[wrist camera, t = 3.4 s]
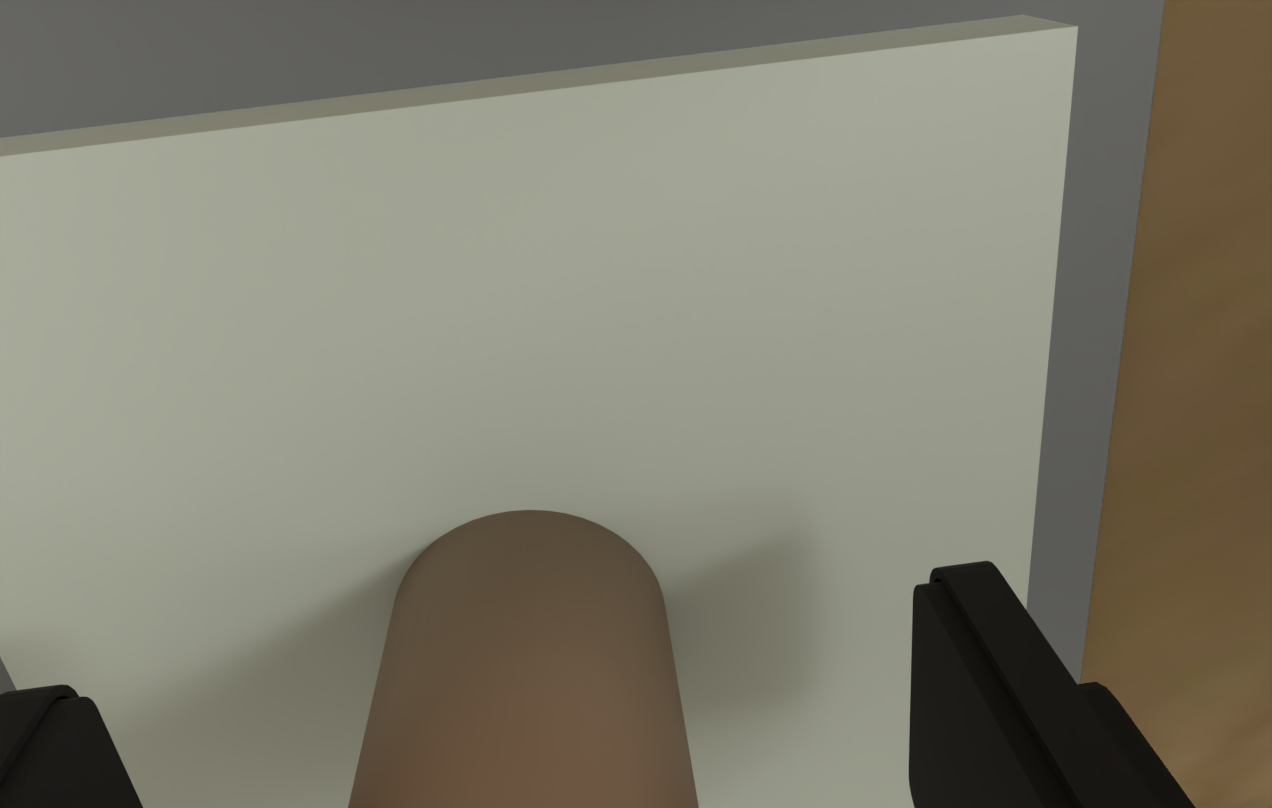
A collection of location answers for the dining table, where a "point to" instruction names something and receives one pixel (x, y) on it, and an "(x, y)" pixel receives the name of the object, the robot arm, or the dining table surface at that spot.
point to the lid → (531, 421)
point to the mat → (626, 32)
